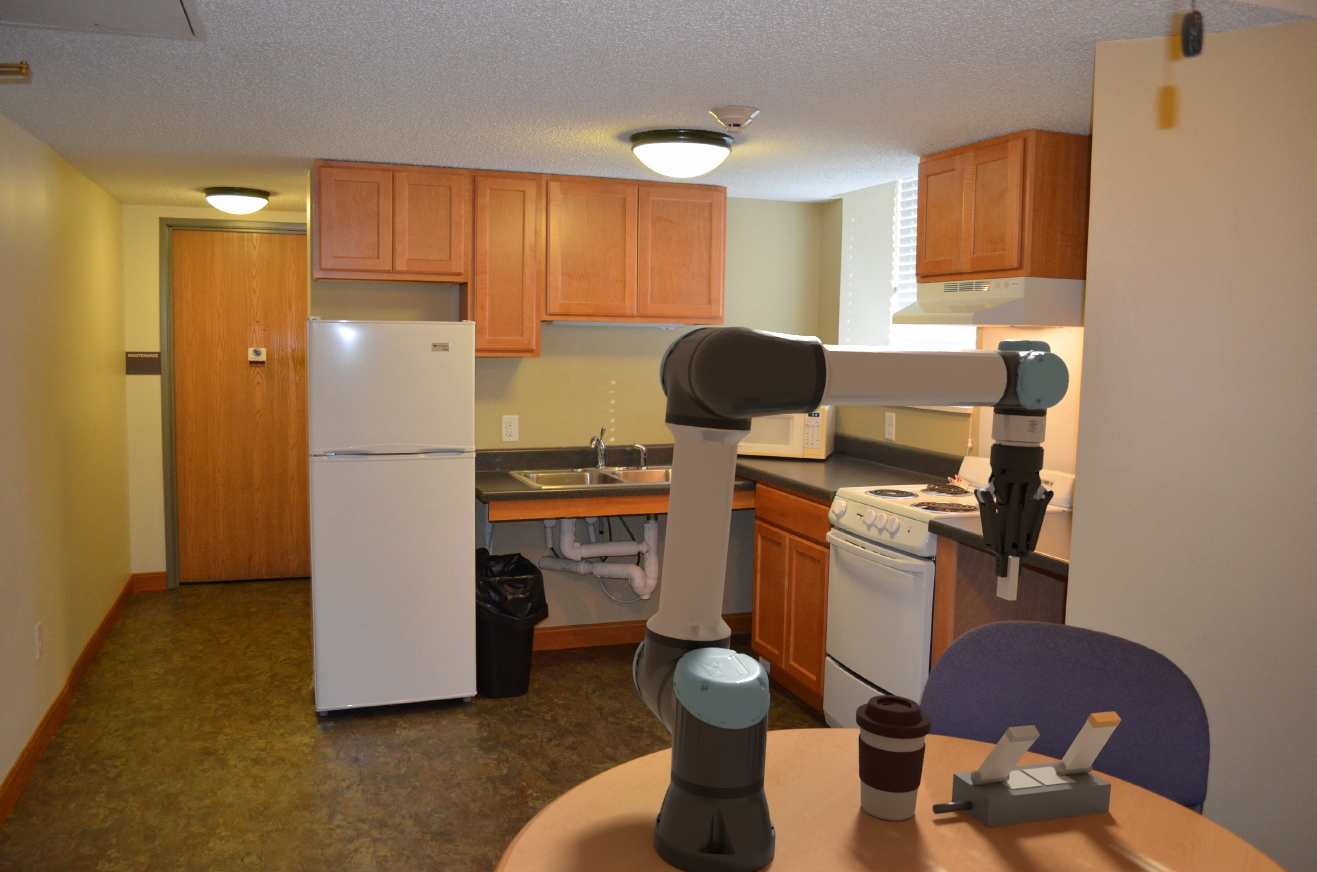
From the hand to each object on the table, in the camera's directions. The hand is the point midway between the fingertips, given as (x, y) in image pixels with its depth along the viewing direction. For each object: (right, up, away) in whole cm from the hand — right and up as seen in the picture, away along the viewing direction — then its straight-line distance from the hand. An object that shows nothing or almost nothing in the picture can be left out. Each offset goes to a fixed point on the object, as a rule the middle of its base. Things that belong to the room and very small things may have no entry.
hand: (1006, 597), depth 147 cm
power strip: (-3, -27, -12) cm, 30 cm away
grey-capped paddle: (-7, -22, -14) cm, 27 cm away
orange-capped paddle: (+6, -22, -10) cm, 25 cm away
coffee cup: (-21, -27, -14) cm, 37 cm away
